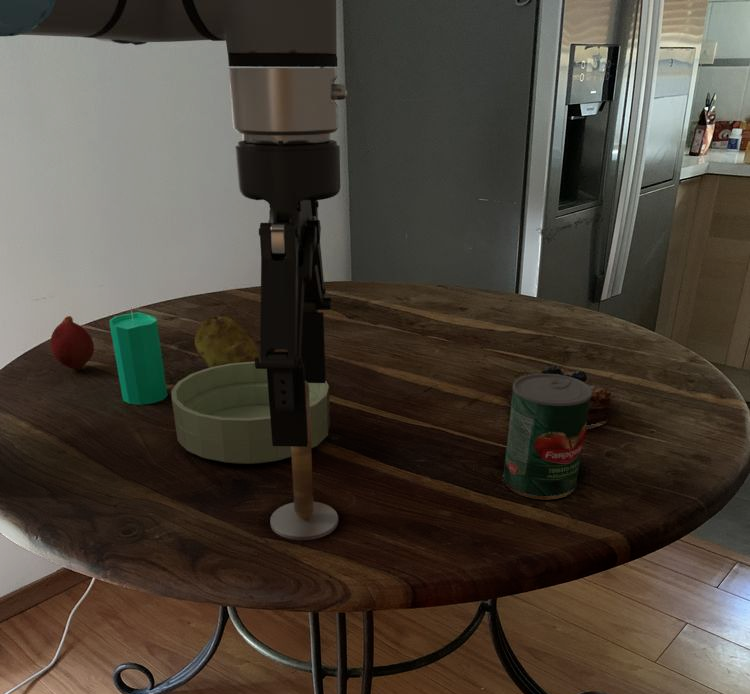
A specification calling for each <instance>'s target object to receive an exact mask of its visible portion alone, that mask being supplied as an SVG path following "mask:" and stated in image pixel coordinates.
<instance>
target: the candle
mask: <svg viewBox="0 0 750 694" xmlns="http://www.w3.org/2000/svg"><path fill="white" fill-rule="evenodd" d="M158 326H159V325H158V319H157V318H156V317H154V316H153V315H151V314H148V313H144V312H140V311H136V312H133V308H132V307H130V312H129V313H125V314H120V315H115V316H113V317H112V318H111V319H109V329H110V335H111V341H112V346H113V351H114V359H115V362H116V363H115V364H116V369H117V375H118V380H119V385H120V386H119V387H120V392H121V396H122V401H123V402H125V403H127V404H129V405H138V406H140V405H152V404H156V403H159V402H161V401H164V399H166V398H167V397H168V388H167V382H166V375H165V368H164V361H163V354H162V348H161V340H160V339H161V338H160V334H159V333H160V332H159V327H158Z"/></svg>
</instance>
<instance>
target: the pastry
mask: <svg viewBox="0 0 750 694" xmlns="http://www.w3.org/2000/svg"><path fill="white" fill-rule="evenodd" d="M539 374H556V375H563V376H568V377H572V378H575V379H578V380H580V381H582V382H584V383H586V384H587V385H588V386H589V387H590V388H591V389H592V396H591V399H590V406H589V412H588V419H587V425H591V424H596V423H598V422H601V421H605V420H607V419H609V420H610V417H609V416H610V414H611V412H609V410H611V409H612V399H611V394H612V393H611V392H610V391H607V390H605V389H606V388H603V387H600V386H599V385H597V386H596V385H595V384H592V382H591V381H587V379H588V377H587V373H586V372H585V371H583V370H576V371H566V370H565V369H561V368H560V367H559V366H558V365H553V366H550V367H549V368H547V369H543V370H542V371H541V372H540V373H539ZM527 375H532V373H530V374H529V373H525V374H524V375H521V374H520V375H518V376H517V377H516V378H515V379H513V380H512V382H511V385H510V387H511V391H510V392H509V393H508V395H507V405H508V404H509V405H510V406H511V401H512V394H513V384H514V382H515V381H516V380H517V379H519V378H521V377H524V376H527Z"/></svg>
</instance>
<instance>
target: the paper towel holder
mask: <svg viewBox="0 0 750 694" xmlns="http://www.w3.org/2000/svg"><path fill="white" fill-rule="evenodd" d="M305 390H306V411H307V431H308V445H307V447H292V446H291V456H292V457H291V473H292V474H291V475H292V491H293V502H290V503H286V504H284V505H282V506H280V507H278V508H277V509H276V510H274V512H272V514H271V516H270V519H269V520H270V521H269V522H270V524H269V525H270V528H271V530H272V531H273V532H274V533H275V534H277V535H278V536H279V537H281V538H285V539H289V540H294V541H311V540H316V539H320V538H324V537H325V536H327V535H330V534H331V533H332V532H334V531H335V529H337V527H338V524H339V514H338V513H337V511H336V510H335V509H334V508H333V507H332V506H331V505H328V504H325V503H323V502H319V501H315V500H314V483H313V481H314V479H313V457H312V456H313V455H312V448H311V425H310V398H309V385H308V383H307V382H306V381H305Z"/></svg>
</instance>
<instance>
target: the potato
mask: <svg viewBox="0 0 750 694" xmlns="http://www.w3.org/2000/svg"><path fill="white" fill-rule="evenodd" d="M194 346H195V349H196V352H197V355H198V357H199V358H200V359H201V361H202V362H203V363H205V365H206V366H207V367H208V368H211V367H216V366H221V365H226V364H231V363H243V362H255V357H260V348H259V347H258V345H257V344H256V342H255V340H254V338H253V336H252V335H251V334H250V333H249V332H248V330H246V329H244V328H243V327H242V326H240V325H239V324H238V322H237V321H236V320H234V318H232V317H229V316H225V315H223V314H220V315H212V316H209V317H207V318H206V319H204V320H202V321H200V322H199V324H198V325H197V327H196V330H195V333H194Z"/></svg>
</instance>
